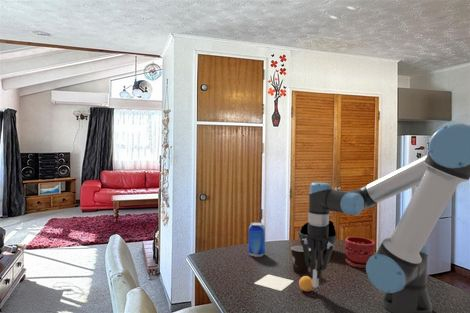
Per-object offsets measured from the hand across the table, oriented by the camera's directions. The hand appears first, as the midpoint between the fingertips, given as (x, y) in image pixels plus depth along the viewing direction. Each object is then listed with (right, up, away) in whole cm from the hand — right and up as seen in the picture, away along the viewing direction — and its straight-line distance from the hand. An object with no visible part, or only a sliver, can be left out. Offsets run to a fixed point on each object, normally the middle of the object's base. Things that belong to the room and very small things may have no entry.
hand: (315, 286), depth 124 cm
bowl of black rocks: (+14, -2, +53) cm, 55 cm away
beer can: (-19, -2, +45) cm, 49 cm away
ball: (-3, 0, +2) cm, 4 cm away
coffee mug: (-1, -3, +24) cm, 24 cm away
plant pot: (+29, -3, +32) cm, 43 cm away
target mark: (-14, -2, +9) cm, 17 cm away
